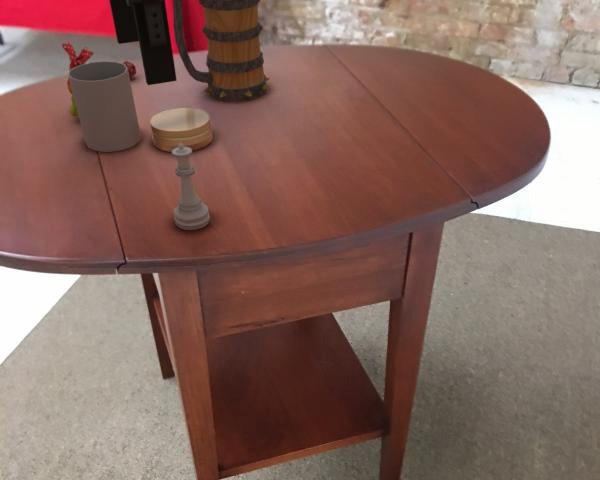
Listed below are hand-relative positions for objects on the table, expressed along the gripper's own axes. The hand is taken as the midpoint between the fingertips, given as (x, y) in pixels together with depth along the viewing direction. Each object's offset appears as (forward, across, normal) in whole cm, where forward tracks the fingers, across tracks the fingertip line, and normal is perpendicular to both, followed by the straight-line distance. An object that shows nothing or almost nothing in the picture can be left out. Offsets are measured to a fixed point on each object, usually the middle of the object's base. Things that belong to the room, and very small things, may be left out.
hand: (145, 60), depth 63 cm
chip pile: (+20, +28, -8) cm, 35 cm away
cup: (+20, +32, +2) cm, 38 cm away
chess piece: (+20, +3, -3) cm, 21 cm away
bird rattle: (+20, +45, +4) cm, 49 cm away
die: (+20, +58, -6) cm, 62 cm away
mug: (+20, +44, -21) cm, 52 cm away
